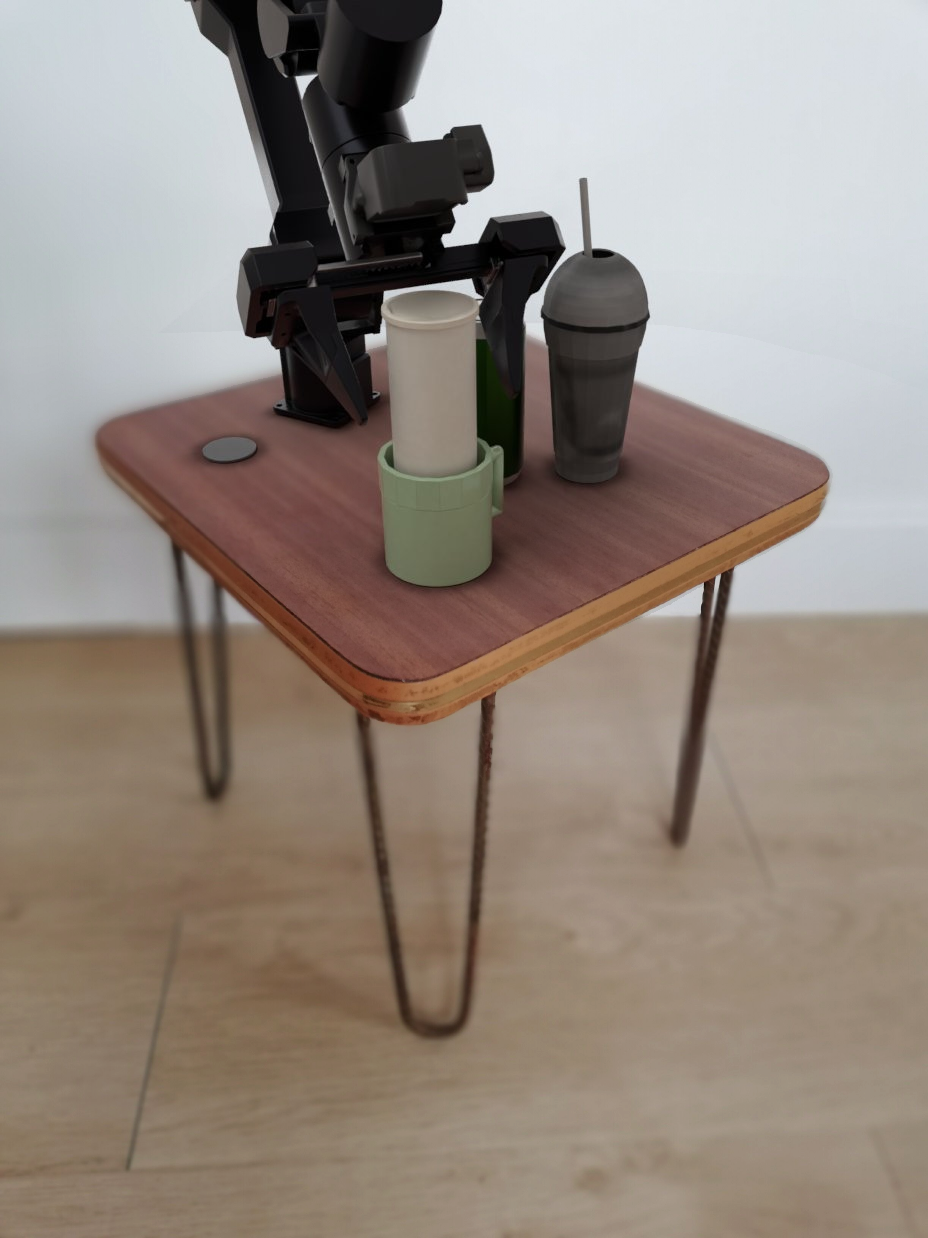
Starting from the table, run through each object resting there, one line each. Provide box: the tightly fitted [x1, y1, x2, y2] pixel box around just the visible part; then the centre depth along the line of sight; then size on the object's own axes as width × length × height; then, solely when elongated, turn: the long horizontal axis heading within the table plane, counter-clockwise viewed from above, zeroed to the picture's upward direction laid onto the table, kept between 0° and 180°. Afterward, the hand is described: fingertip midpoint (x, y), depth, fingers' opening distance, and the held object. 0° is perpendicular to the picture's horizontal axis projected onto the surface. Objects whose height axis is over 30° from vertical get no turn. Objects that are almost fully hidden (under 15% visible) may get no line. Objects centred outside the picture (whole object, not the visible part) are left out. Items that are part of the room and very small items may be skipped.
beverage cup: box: [540, 177, 651, 484], centre depth 73 cm, size 7×7×20 cm
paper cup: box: [381, 289, 479, 478], centre depth 63 cm, size 5×5×11 cm
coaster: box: [202, 436, 257, 464], centre depth 82 cm, size 4×4×1 cm
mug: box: [377, 437, 504, 588], centre depth 67 cm, size 9×7×7 cm
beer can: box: [473, 296, 527, 487], centre depth 75 cm, size 5×5×12 cm
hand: (441, 408), depth 62 cm, fingers open, 9 cm apart
